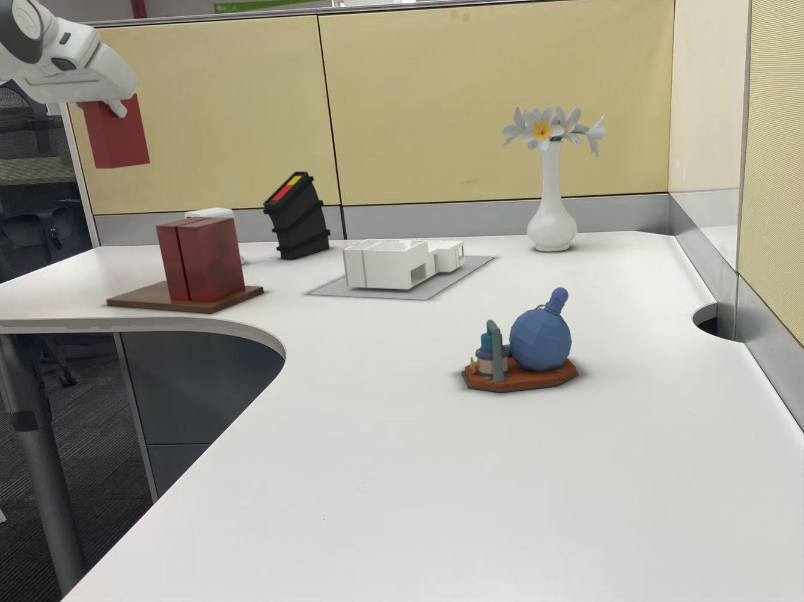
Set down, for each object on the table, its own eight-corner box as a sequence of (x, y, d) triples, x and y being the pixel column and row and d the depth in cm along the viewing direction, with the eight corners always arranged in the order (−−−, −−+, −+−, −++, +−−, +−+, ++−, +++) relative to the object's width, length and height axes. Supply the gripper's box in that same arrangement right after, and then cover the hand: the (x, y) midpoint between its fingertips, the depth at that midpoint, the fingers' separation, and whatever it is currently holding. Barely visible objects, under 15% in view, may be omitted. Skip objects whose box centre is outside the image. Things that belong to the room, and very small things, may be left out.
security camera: (193, 267, 147) (183, 211, 143) (229, 260, 151) (219, 206, 148) (210, 271, 142) (200, 214, 139) (246, 264, 147) (237, 208, 144)
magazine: (341, 236, 160) (310, 170, 149) (304, 278, 152) (269, 211, 142) (326, 235, 161) (294, 170, 151) (289, 277, 154) (253, 211, 143)
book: (112, 168, 127) (96, 94, 123) (95, 168, 128) (79, 95, 124) (150, 163, 134) (136, 93, 130) (134, 163, 135) (120, 94, 131)
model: (561, 355, 92) (559, 275, 88) (586, 382, 83) (585, 295, 80) (457, 367, 89) (452, 285, 86) (472, 396, 81) (466, 307, 78)
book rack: (211, 313, 116) (196, 230, 111) (107, 305, 123) (89, 226, 118) (264, 292, 126) (251, 215, 122) (165, 286, 133) (150, 213, 129)
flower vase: (616, 248, 146) (616, 102, 137) (520, 259, 140) (514, 108, 131) (586, 236, 157) (584, 101, 148) (496, 246, 152) (489, 106, 143)
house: (431, 297, 117) (428, 256, 115) (321, 291, 123) (316, 253, 121) (485, 263, 137) (483, 227, 135) (388, 260, 143) (385, 226, 140)
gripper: (-18, 67, 119) (55, 132, 130) (83, 59, 111) (151, 129, 123) (1, 36, 121) (72, 102, 133) (102, 26, 113) (167, 97, 125)
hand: (111, 115), depth 128 cm, fingers closed on book, 3 cm apart
